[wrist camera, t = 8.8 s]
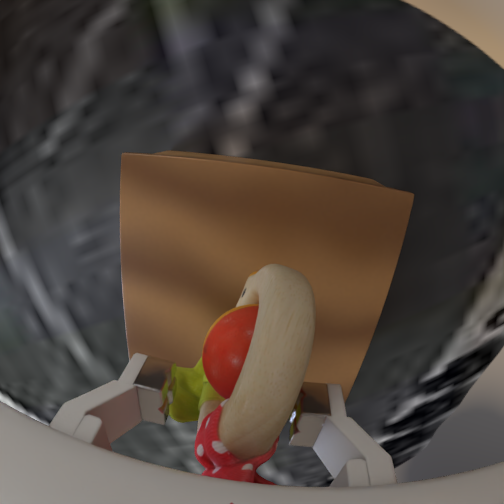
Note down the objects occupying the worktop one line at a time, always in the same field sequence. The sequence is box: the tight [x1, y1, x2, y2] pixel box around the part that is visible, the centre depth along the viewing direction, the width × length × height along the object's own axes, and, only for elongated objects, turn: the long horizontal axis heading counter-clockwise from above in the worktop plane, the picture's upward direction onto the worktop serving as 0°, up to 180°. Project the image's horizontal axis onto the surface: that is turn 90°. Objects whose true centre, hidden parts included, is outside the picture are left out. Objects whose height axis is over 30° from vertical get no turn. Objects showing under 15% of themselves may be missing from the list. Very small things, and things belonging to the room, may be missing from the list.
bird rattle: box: [169, 264, 316, 504], centre depth 10 cm, size 6×11×9 cm
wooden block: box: [120, 151, 414, 404], centre depth 19 cm, size 14×14×6 cm
